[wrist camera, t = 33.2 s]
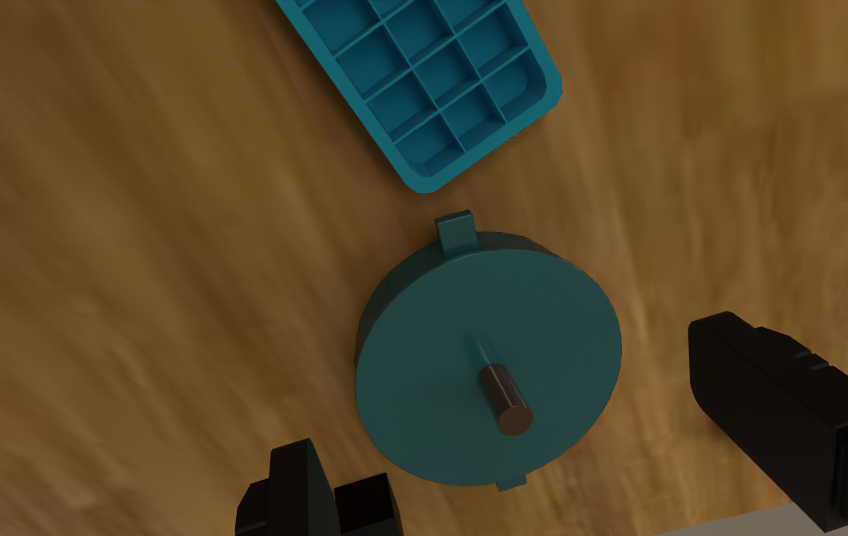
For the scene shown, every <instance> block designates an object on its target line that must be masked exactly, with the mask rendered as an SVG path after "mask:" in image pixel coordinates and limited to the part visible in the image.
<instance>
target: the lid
mask: <svg viewBox="0 0 848 536" xmlns="http://www.w3.org/2000/svg"><path fill="white" fill-rule="evenodd" d="M621 356H622V339H621V333H620V327H619V322H618V319H617V316H616V314H615V311H614V308H613V306H612V305H611V303H610V301H609V299H608V297H607V296H606V294H605V293H604V292H603V290H602V289H601V288H600V287H599V285H598V284H597V283H596V282H595V281H594V280H593V279H592V278H591V277H589V276H588V275H587V274H586V273H585V272H584V271H583V270H581V269H580V268H578V267H577V266H575V265H574V264H572V263H571V262H569V261H567V260H565V259H563V258H560V257H558V256H556V255H553V254H550V253H547V252H543V251H540V250H535V249H528V248H522V247H497V248H487V249H481V250H477V251H472V252H468V253H464V254H461V255H458V256H456V257H453V258H450V259H447V260H445V261H443V262H441V263H439V264H437V265H435V266H433V267H431V268H429V269H427V270H426V271H424V272H423V273H421V274H420V275H418V276H417V277H415V278H414V279H412V280H411V281H410V282H409V283H407V284H406V285H405V286H404V287H403V288H401V289H400V290H399V291H398V292H397V293H396V294H395V295H394V296H393V297H392V298H391V299H390V300H389V301H388V302H387V304H386V305H385V306H384V307H383V308H382V310H381V311H380V313H379V314H378V315H377V317H376V318H375V320H374V321H373V323H372V325H371V327H370V328H369V330H368V332H367V334H366V336H365V338H364V341H363V344H362V346H361V349H360V352H359V355H358V360H357V365H356V369H355V396H356V404H357V408H358V412H359V416H360V419H361V421H362V424H363V426H364V428H365V431H366V433H367V434H368V436H369V437H370V439H371V440H372V442H373V443H374V445H375V446H376V447H377V448H378V449H379V450H380V451H381V453H382V454H383V455H384V456H385V457H387V458H388V459H389V460H390V461H392V462H393V463H394V464H395V465H397V466H398V467H400V468H402V469H403V470H405V471H407V472H408V473H411V474H413V475H415V476H418V477H420V478H422V479H426V480H429V481H433V482H436V483H442V484H448V485H459V486H474V485H486V484H492V483H498V482H502V481H506V480H510V479H514V478H517V477H519V476H522V475H525V474H527V473H530V472H532V471H534V470H536V469H538V468H540V467H542V466H544V465H546V464H548V463H549V462H551V461H552V460H554V459H556V458H557V457H559V456H560V455H561V454H563V453H564V452H565V451H567V450H568V449H569V448H571V447H572V446H573V445H574V444H575V443H576V442H577V441H578V440H579V439H580V438H582V437H583V436H584V435H585V433H586V432H587V431H588V430H589V429H590V428H591V427H592V425H593V424H594V423H595V422H596V420H597V419H598V417H599V416H600V414H601V413H602V412H603V410H604V408H605V406H606V404H607V403H608V401H609V399H610V397H611V395H612V392H613V390H614V387H615V385H616V382H617V378H618V374H619V370H620V365H621Z"/></svg>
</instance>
